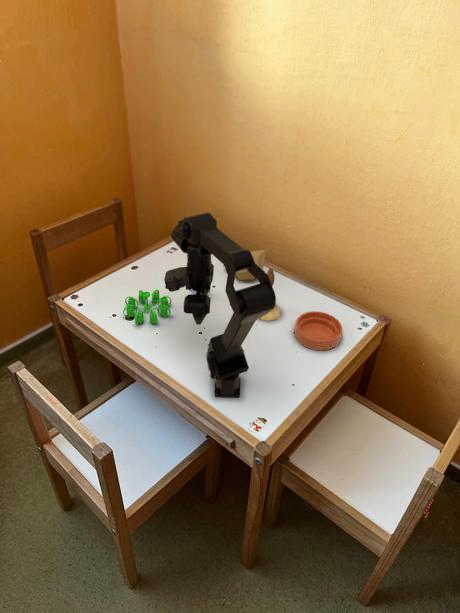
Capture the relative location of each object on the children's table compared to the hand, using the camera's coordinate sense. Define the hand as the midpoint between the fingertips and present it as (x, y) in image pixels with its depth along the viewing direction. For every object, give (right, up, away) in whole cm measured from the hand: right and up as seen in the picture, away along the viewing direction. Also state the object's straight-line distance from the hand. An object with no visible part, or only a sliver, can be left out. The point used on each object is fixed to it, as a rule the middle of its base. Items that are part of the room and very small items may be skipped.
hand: (199, 312), depth 123 cm
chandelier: (-17, 0, +20) cm, 26 cm away
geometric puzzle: (-2, +5, +27) cm, 27 cm away
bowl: (+33, -7, +14) cm, 37 cm away
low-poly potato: (+12, +12, +37) cm, 41 cm away
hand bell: (+19, 0, +22) cm, 29 cm away
